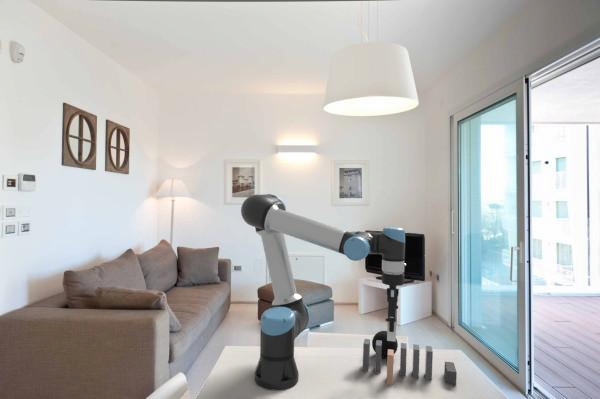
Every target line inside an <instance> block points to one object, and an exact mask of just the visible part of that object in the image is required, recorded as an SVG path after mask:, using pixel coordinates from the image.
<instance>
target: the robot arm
mask: <svg viewBox="0 0 600 399" xmlns="http://www.w3.org/2000/svg"><path fill="white" fill-rule="evenodd" d="M240 213H241V218H242V219H243V221H244V222H245V223H246V224H247V225H249V226H251V227H254V229H255V233H256V234H257V235H259V236H260V237H261V242H262V247H263V250H264V255H265V260H266V264H267V269H268V273H269V274H268V275H269V278H270V282H271V287H272V292H273V296H274V299H273V301H272V302H271V306H272V308H271V307H270V308H268V309H266V310H265V311H263V313H261V316H260V324H259V325H260V326H259V327H260V332H259V333H260V337H259V338H260V340H259V341H260V342H259V343H260V344H259V345H260V346H259V349H260V350H259V351H260V353H259V359H258V362H257V364H256V368H255V371H254V383H255V384H256V385H257V386H259V387H261V388H263V389H266V390H273V391H274V390H275V391H278V390H279V391H280V390H285V389H290V388H292V387H294V386H296V385H297V384H298V382H299V374H300V373H299V370H298V369H299V368H298V367H297V362H296V359H295V340H296V338H298V336H299V335H300V334H301V333H303V332H304V331H305V330H306V328H307V327H308V325H309V324H310V323H309V322H310V317H311V315H310V310H309V307H308V305H306V304H305V303H304V301H303V296H302V295H301V294H299V293H298V292H297V288H296V283H295V278H294V274H293V269H292V265H291V261H290V256H289V251H288V247H287V243H286V239H285V235H287V236H290V237H291V238H295V239H298V240H301V241H304V242H306V243H310V244H313V245H315V246H318V247H321V248H324V249H326V250H330V251H334V252H336V253H338V254H342V255H344V256H345V257H346V258H348V259H349V260H350V261H354V262H357V261H362V260H363V259H365V258H367V256H368V255H381V256H382V257H381V258H382V259H381V271H382V273H381V283H382V284H383V285H386V286H389V287H387V288H386V296H387V297H386V298H387V299H386V301H387V304H388V305H387V306H388V307H387V308H388V309H387V318H385V322H387V324H386V325H387V326H386V328H387V330H386V331H387V341H395V342H396V339H397V336H396V335H397V310H398V309H399V305H398V300H399V298H398V297H399V291H400V290H399V288H397V286H399V287H400V286H403V285H404V284H405V267H406V266H407V263H405V259H406V258H405V257H406V232H405V229H404V228H403V227H399V226H398V227H396V226H391V227H390V226H386V227H383V228H382V231H381V232H370V231H359V230H358V231H348V230H345V229H341V228H338V227H336V226H332V225H330V224H326V223H323V222H321V221H316V220H314V219H312V218H309V217H308V218H307V217H305V216H301V215H300V214H296V213H293V212H289V211H287V207H286V204H285V202H284V200H283V199H281V197H279V196H277V195H274V194H271V193H270V194H269V193H268V194H252V195H250V196H248V197H247V198H245V199H244V201H243V203H242V204H241V207H240Z"/></svg>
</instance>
